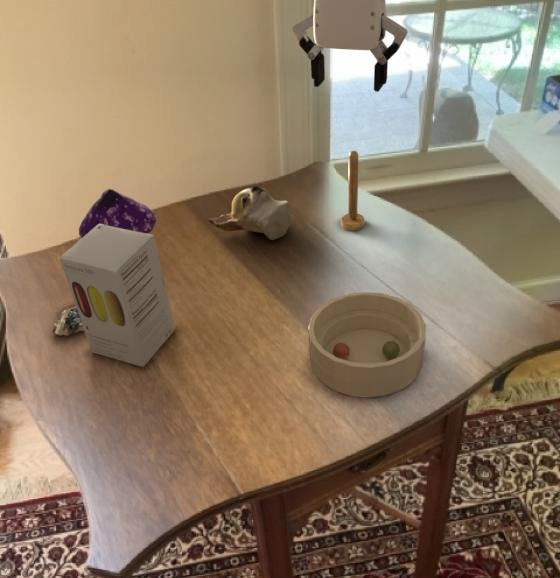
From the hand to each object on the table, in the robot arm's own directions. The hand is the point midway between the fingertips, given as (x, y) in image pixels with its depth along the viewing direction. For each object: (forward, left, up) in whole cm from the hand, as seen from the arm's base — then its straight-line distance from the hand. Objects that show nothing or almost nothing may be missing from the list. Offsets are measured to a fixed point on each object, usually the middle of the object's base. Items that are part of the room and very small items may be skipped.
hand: (348, 85), depth 102 cm
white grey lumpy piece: (+12, +50, -24) cm, 57 cm away
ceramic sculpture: (+10, +13, -24) cm, 29 cm away
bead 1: (-25, +29, -22) cm, 43 cm away
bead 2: (-29, +24, -22) cm, 43 cm away
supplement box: (+1, +46, -24) cm, 52 cm away
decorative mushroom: (+17, +36, -24) cm, 46 cm away
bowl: (-27, +26, -24) cm, 44 cm away
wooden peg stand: (-2, +1, -24) cm, 24 cm away
